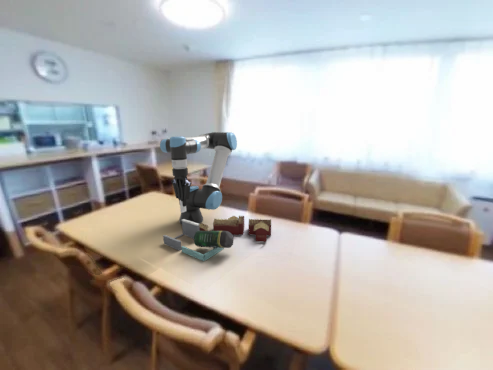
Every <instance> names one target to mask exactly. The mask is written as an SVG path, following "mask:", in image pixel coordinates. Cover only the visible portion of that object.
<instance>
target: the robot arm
mask: <svg viewBox="0 0 493 370" xmlns="http://www.w3.org/2000/svg"><path fill="white" fill-rule="evenodd" d="M159 148H160V151H161V152H162V153H166V154H170V157H171V158H170V159H171V168H172V169H171V170H172V171H171V172H172V175H173V176H174V178H173V179H171V182H170V183H171V184H172V187H173V191H174V194H175V198H176V199H178V201H179V208H180V209H179V210H180V216H179V224H180V225H182V219H185V220H189V221H192V222H195V223H198V224H201V223H203V222H204V217H203V214H202V211H201V209H205V210H208V211H209V210H210V211H211V210H212V211H214V210H217V209H219V207H220V206H221V204H222V202H223V193H222V192H221V189H220V186H221V182H222V178H223V174H224V172H225V168H226V165H227V162H228V161H227V160H228V157H229V156H230V155H231V154H232V151H235V150H236V149H237V148H238V140H237V137H236V135H235V133H234V132H232V131H231V132H228V131H224V132H221V131H220V132H219V131H218V132H216V131H214V132H213V131H212V132H207V133H201V134H199V135H198V136H188V137H185V136H181V135H180V136H178V135H177V136H176V135H175V136H171V137H170V138H165V139H162V140H161V141H160V144H159ZM201 149H202V150H206V149H208V150H214V151H215V153H214V156H213V160H212V163H211V166H210V170H209V173H208V175H207V178H206V183H205V184H202V188H201V189H200V187H199V186H198V185H192V182H191V181H189V180H188V174H189V169H188V157H187V156H188V155H190V154H196V153H199V152H200V151H201ZM191 185H192V186H191Z"/></svg>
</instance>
